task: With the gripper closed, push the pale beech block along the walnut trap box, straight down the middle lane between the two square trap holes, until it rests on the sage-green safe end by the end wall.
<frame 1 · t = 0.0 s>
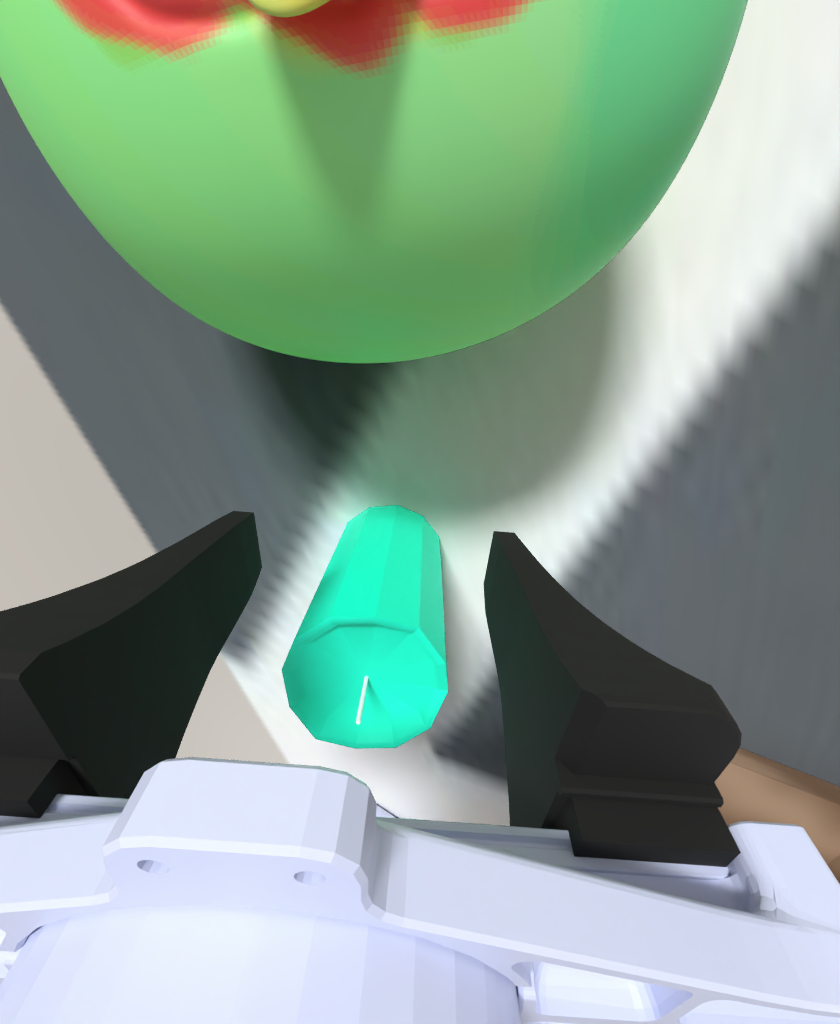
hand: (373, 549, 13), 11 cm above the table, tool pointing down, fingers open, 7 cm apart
candle: (390, 551, 25), on the table
trap box: (631, 865, 35), on the table
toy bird: (390, 144, 18), on the table
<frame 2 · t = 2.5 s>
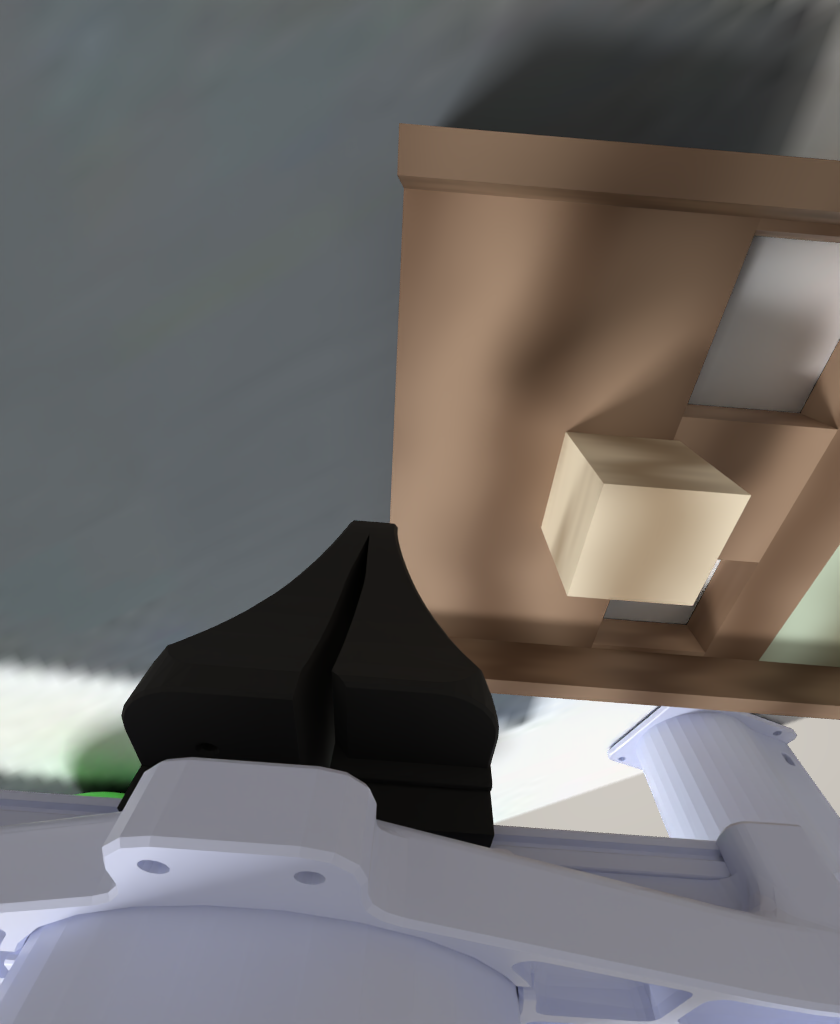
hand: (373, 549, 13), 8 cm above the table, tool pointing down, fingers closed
trap box: (699, 475, 20), on the table
beech block: (605, 487, 18), point 2 cm above the table, touching trap box
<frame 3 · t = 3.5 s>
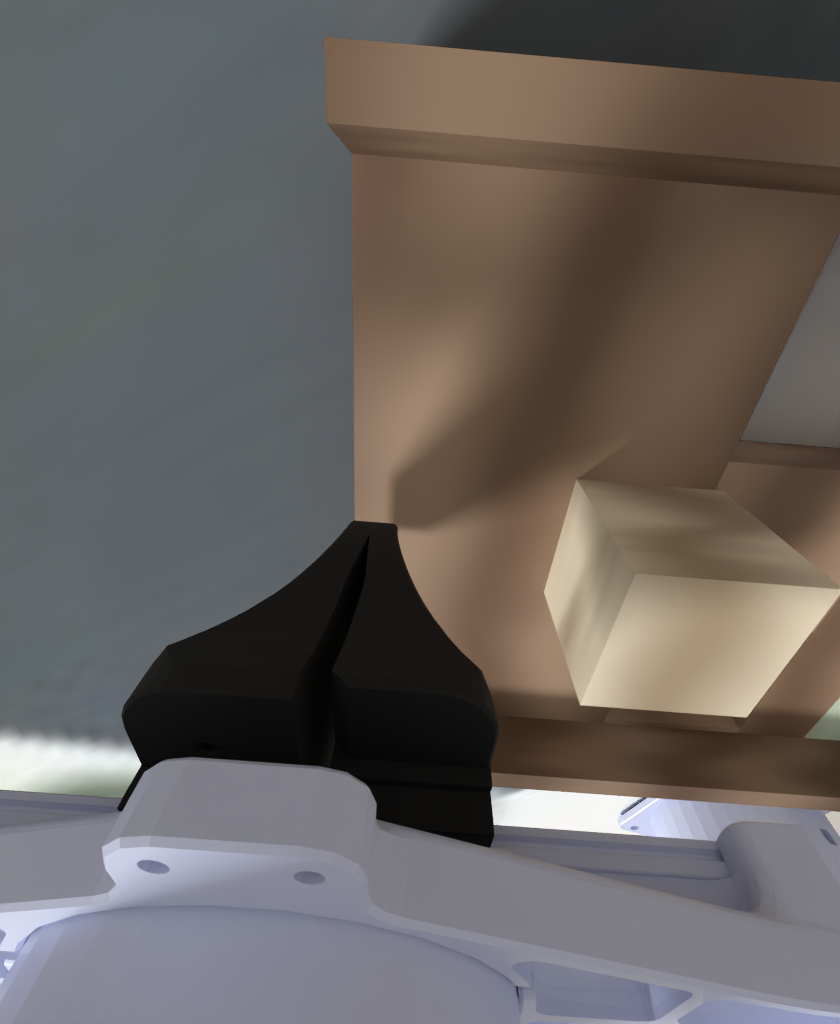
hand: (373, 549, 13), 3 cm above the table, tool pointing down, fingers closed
trap box: (739, 524, 16), on the table
beech block: (626, 545, 14), point 2 cm above the table, touching trap box
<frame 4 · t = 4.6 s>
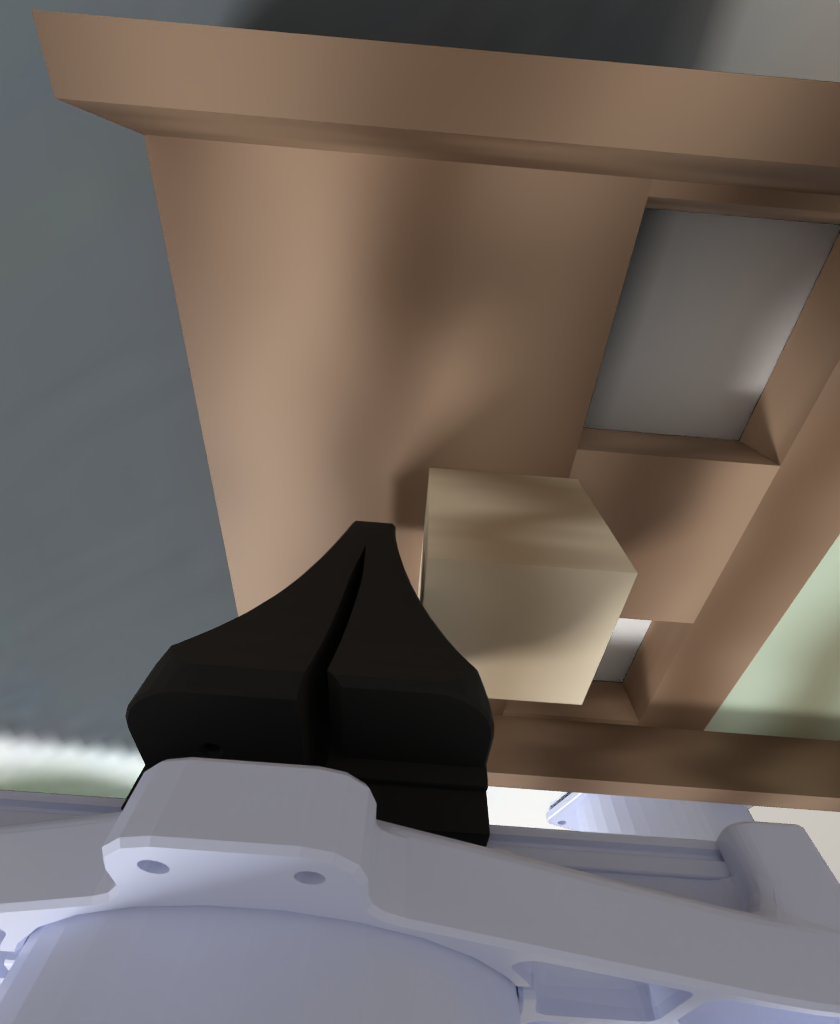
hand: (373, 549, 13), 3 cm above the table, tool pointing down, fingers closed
trap box: (619, 515, 16), on the table
beech block: (491, 534, 14), point 2 cm above the table, touching gripper, trap box
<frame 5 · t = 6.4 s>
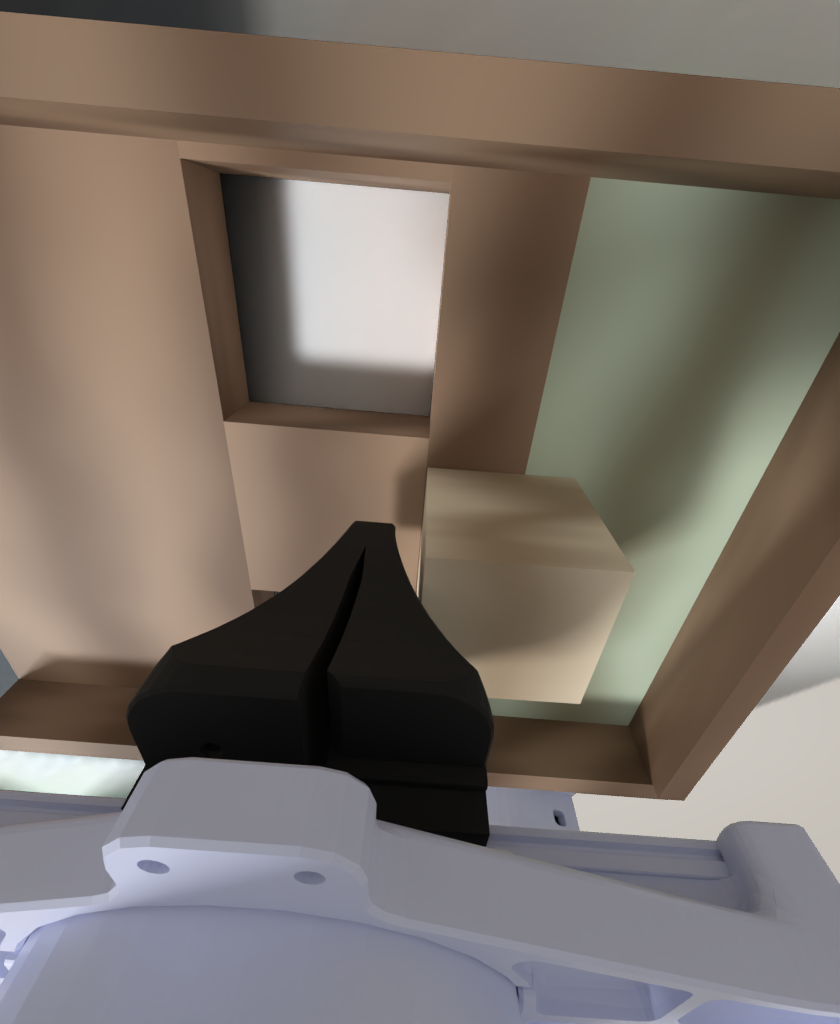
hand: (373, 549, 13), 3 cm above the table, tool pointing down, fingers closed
trap box: (341, 493, 16), on the table
beech block: (490, 534, 14), point 2 cm above the table, touching gripper
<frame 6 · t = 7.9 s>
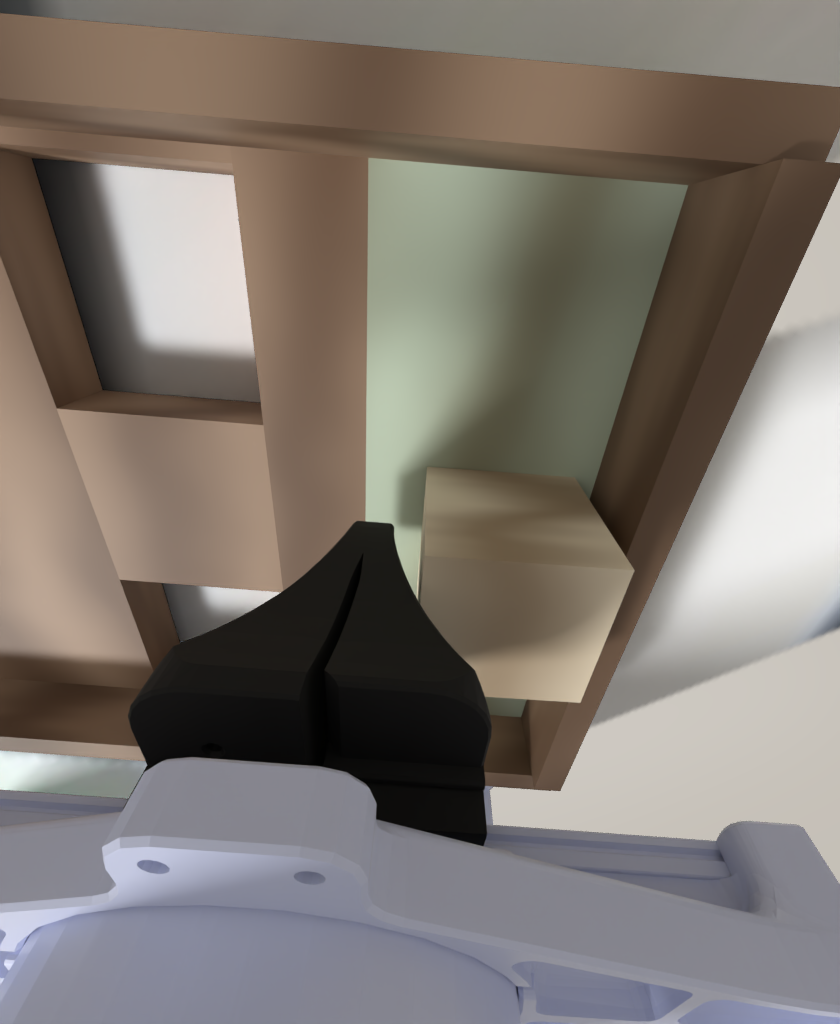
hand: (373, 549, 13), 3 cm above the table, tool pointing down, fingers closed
trap box: (210, 483, 16), on the table
beech block: (489, 533, 14), point 2 cm above the table, touching gripper, trap box
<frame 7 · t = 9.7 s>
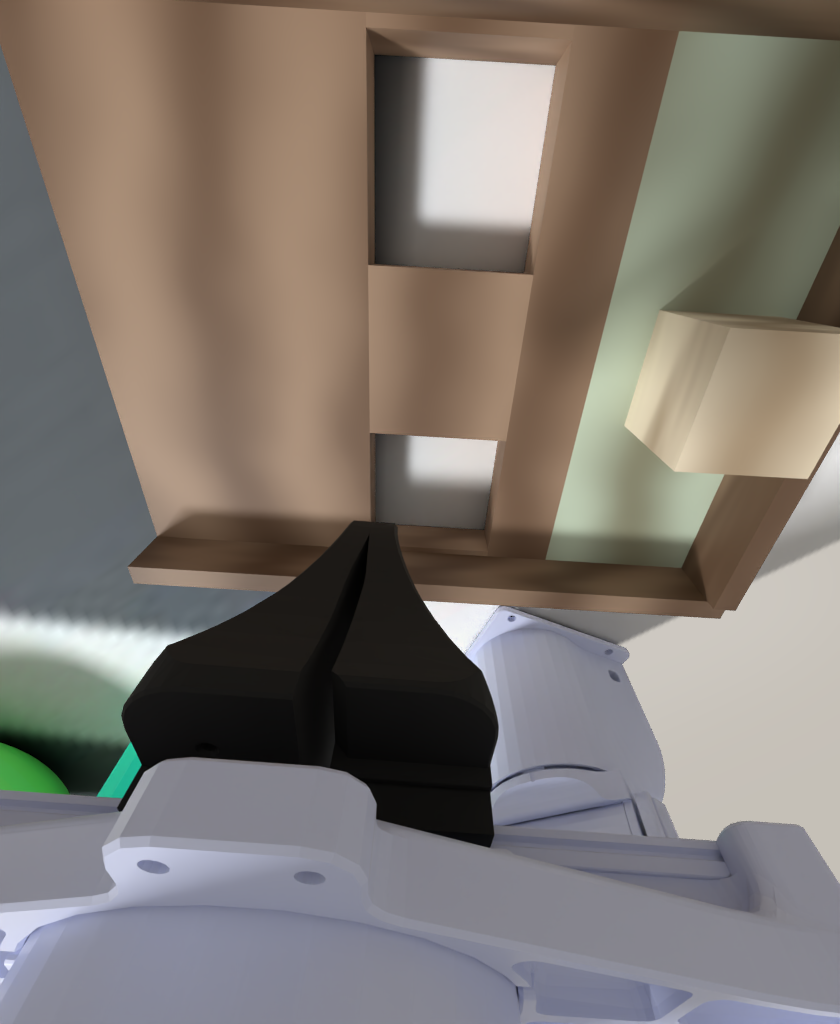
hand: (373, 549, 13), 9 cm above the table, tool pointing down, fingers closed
candle: (191, 717, 34), on the table
trap box: (443, 351, 19), on the table
beech block: (696, 374, 17), point 2 cm above the table, touching trap box
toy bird: (9, 757, 38), on the table
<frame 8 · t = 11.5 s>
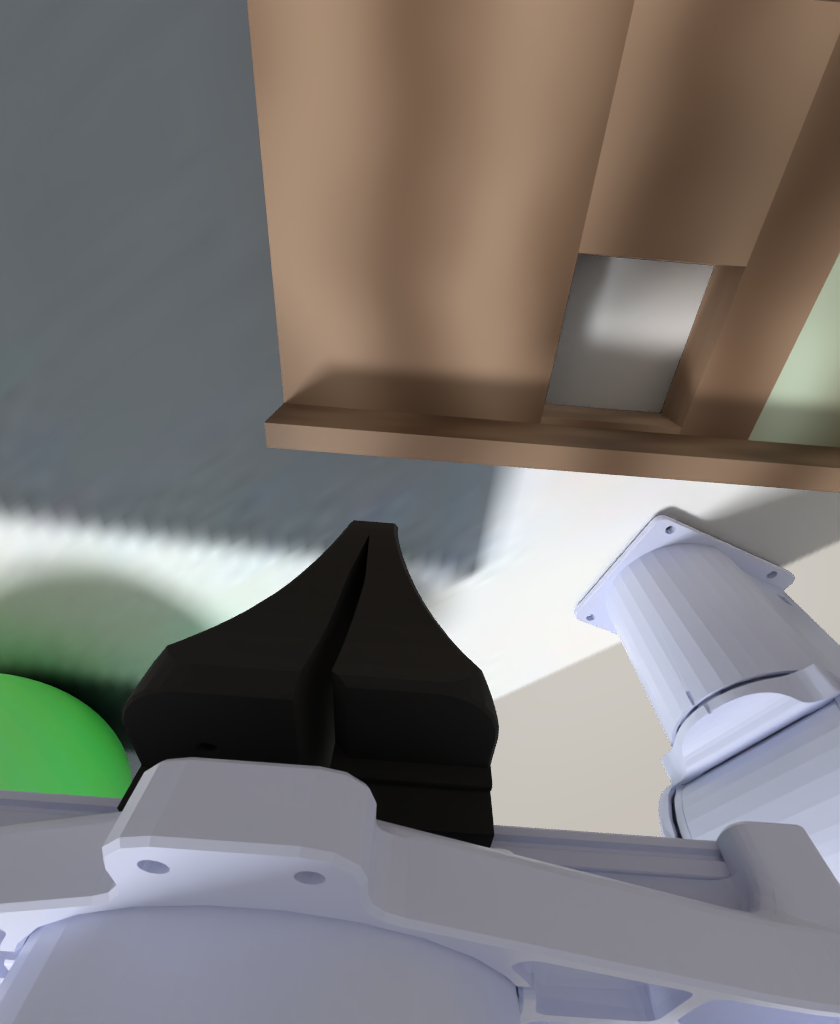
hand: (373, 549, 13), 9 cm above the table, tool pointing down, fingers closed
trap box: (669, 155, 15), on the table
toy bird: (53, 706, 34), on the table
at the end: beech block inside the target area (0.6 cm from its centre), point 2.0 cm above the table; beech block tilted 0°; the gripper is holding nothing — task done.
